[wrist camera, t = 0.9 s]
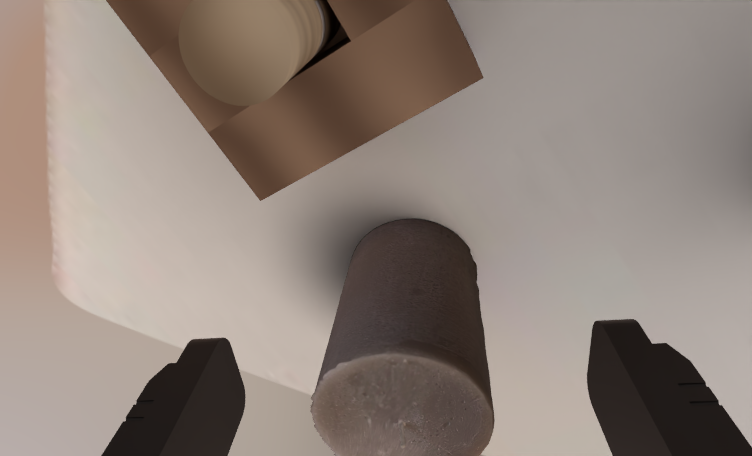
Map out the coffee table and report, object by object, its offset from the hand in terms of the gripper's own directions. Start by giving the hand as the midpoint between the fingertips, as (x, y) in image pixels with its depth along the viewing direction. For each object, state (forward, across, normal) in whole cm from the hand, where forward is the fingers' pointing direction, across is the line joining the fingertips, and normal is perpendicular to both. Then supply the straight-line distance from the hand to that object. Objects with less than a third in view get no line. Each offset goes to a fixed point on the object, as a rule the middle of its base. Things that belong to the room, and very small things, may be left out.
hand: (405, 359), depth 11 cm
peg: (+22, +5, -6) cm, 23 cm away
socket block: (+23, +5, -6) cm, 24 cm away
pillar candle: (+23, +1, +13) cm, 27 cm away
